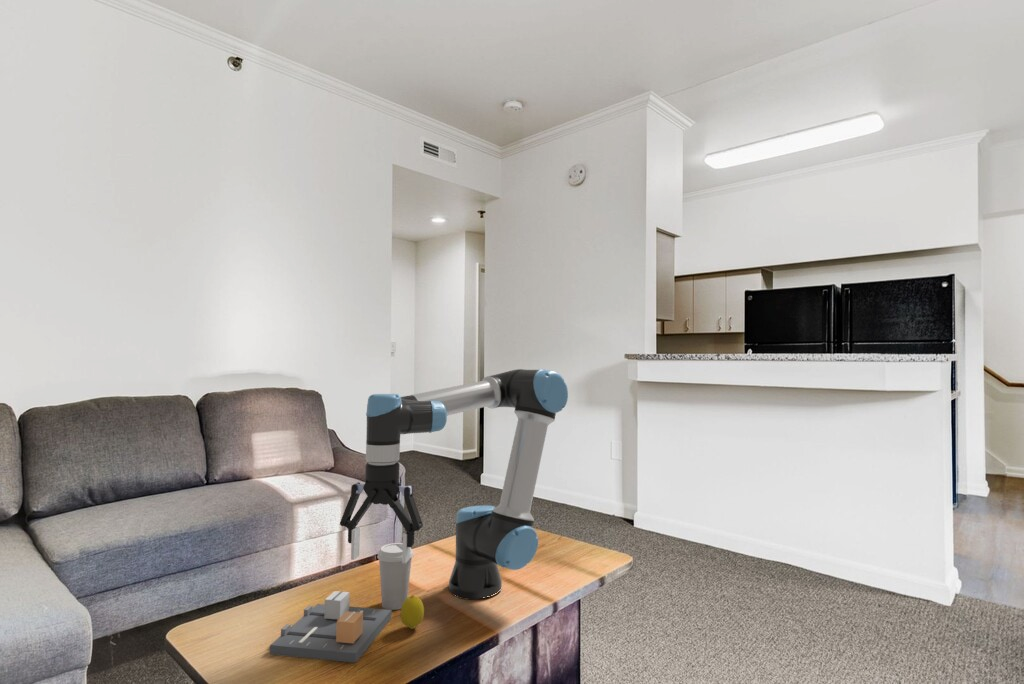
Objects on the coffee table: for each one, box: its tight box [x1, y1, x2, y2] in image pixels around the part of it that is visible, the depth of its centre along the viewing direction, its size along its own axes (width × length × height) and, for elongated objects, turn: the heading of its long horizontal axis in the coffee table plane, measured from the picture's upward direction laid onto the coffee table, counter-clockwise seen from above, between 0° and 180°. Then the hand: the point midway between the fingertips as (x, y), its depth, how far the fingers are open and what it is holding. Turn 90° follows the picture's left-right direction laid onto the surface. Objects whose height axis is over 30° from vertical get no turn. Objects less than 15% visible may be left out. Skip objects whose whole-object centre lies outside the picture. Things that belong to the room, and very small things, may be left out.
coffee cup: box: [376, 542, 414, 611], centre depth 146 cm, size 10×10×15 cm
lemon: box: [400, 594, 425, 630], centre depth 133 cm, size 6×6×8 cm
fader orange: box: [336, 611, 363, 644], centre depth 124 cm, size 4×5×5 cm
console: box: [269, 603, 393, 664], centre depth 130 cm, size 20×21×3 cm
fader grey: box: [324, 590, 350, 620], centre depth 135 cm, size 4×5×5 cm
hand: (380, 559), depth 123 cm, fingers open, 11 cm apart
